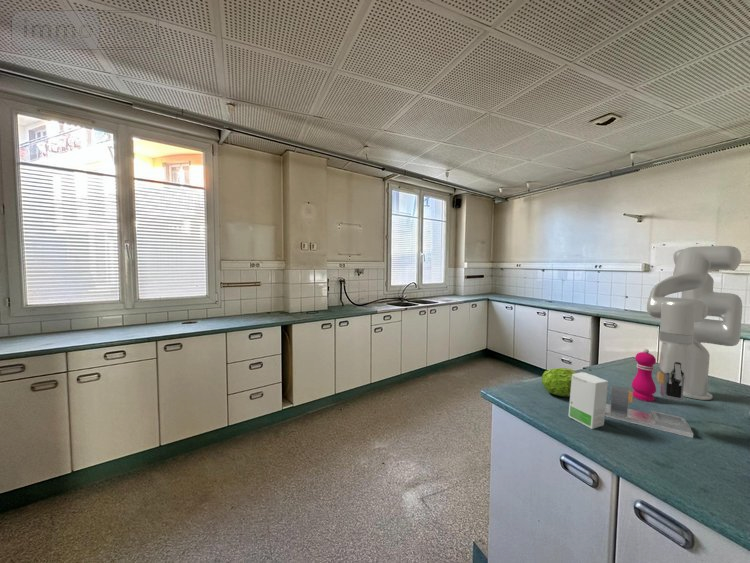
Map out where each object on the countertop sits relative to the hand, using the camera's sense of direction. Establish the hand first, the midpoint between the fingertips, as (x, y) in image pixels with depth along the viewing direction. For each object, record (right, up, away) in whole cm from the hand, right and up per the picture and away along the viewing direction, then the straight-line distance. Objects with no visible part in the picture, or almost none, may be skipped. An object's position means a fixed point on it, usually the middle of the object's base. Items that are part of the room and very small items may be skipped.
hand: (671, 393), depth 95 cm
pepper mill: (+11, -11, +22) cm, 27 cm away
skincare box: (-24, -12, +4) cm, 27 cm away
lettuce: (-16, -10, +28) cm, 34 cm away
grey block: (0, -1, 0) cm, 1 cm away
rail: (-5, -11, +5) cm, 13 cm away
